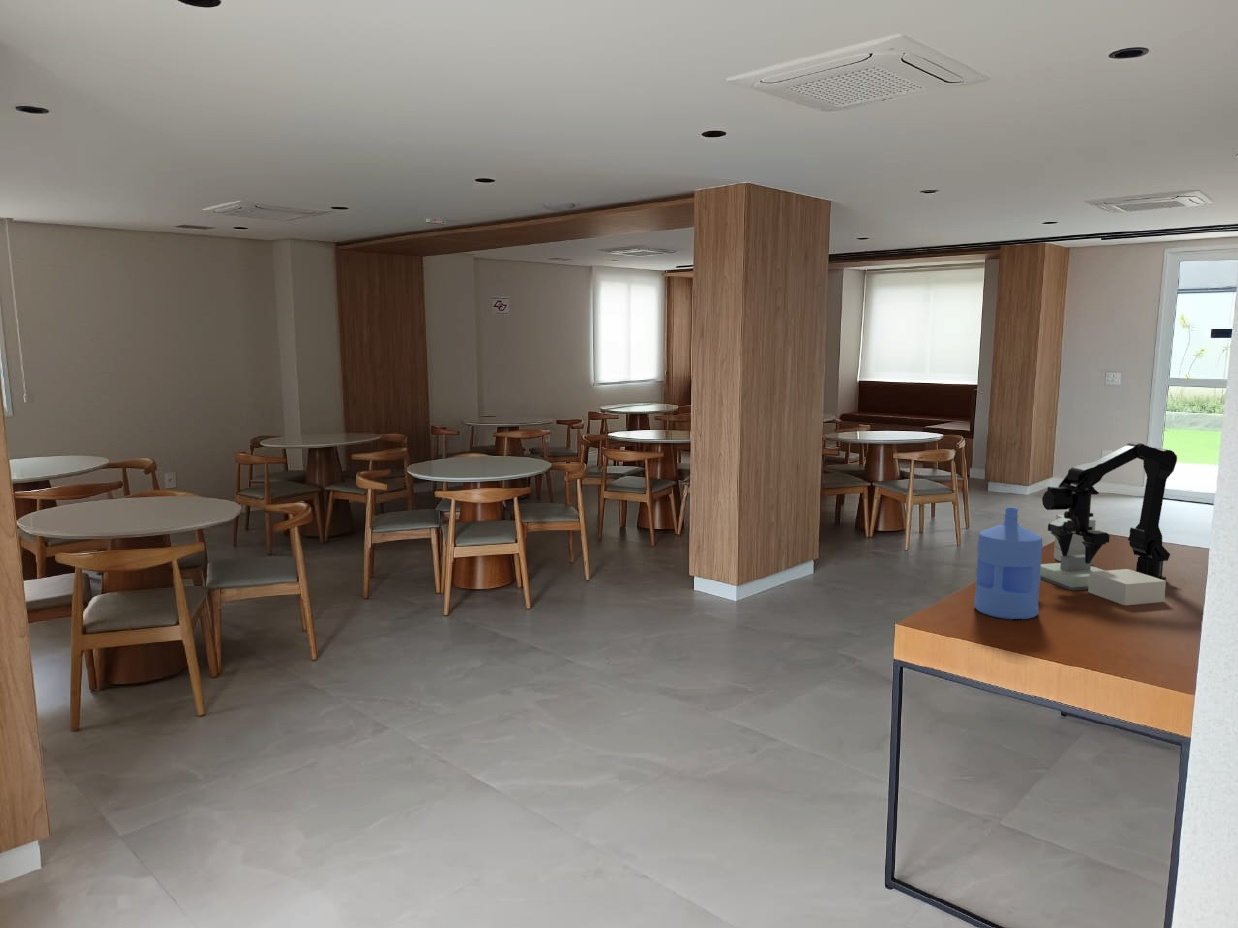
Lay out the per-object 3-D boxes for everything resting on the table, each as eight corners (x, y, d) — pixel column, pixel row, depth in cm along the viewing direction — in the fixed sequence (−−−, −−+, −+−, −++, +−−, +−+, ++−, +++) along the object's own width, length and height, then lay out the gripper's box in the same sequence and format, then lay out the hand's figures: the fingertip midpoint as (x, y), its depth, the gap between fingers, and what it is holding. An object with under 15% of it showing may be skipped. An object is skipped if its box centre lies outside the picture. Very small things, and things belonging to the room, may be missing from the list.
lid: (1077, 570, 261) (1078, 549, 260) (1115, 583, 246) (1117, 560, 245) (1035, 573, 258) (1036, 551, 257) (1071, 587, 243) (1073, 564, 242)
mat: (1077, 570, 263) (1077, 569, 263) (1123, 586, 245) (1123, 584, 245) (1028, 574, 259) (1028, 573, 259) (1071, 590, 241) (1071, 589, 241)
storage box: (1126, 588, 243) (1127, 568, 242) (1164, 601, 230) (1165, 580, 229) (1088, 592, 240) (1089, 571, 239) (1124, 605, 227) (1126, 584, 226)
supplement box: (1081, 558, 278) (1084, 514, 276) (1093, 565, 269) (1096, 519, 267) (1052, 557, 279) (1055, 514, 277) (1064, 564, 270) (1067, 519, 268)
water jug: (987, 599, 234) (993, 501, 230) (1047, 611, 223) (1053, 508, 219) (964, 611, 223) (969, 509, 219) (1025, 624, 212) (1032, 517, 208)
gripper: (1034, 504, 256) (1031, 554, 258) (1079, 516, 238) (1076, 569, 240) (1065, 503, 259) (1061, 551, 261) (1112, 514, 241) (1108, 566, 243)
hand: (1075, 559), depth 251 cm, fingers open, 9 cm apart
